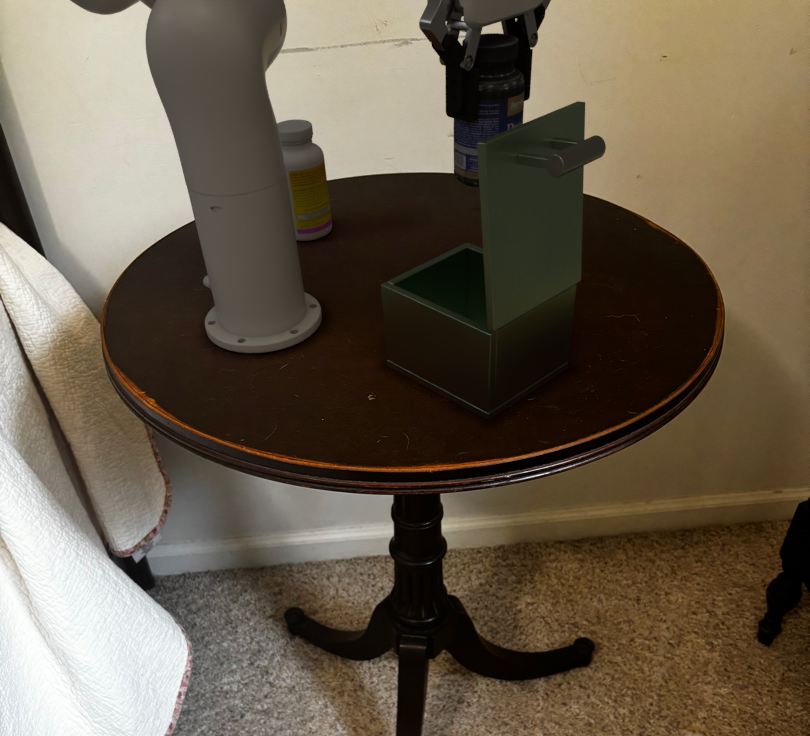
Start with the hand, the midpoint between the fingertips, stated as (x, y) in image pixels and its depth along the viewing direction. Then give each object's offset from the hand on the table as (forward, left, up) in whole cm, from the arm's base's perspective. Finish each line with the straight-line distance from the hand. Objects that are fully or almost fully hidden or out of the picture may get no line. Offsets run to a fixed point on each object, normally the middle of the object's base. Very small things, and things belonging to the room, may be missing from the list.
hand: (488, 106), depth 69 cm
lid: (+10, -6, -5) cm, 13 cm away
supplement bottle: (-33, +3, -22) cm, 40 cm away
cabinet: (+5, -6, -21) cm, 23 cm away
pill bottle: (0, 0, -6) cm, 6 cm away
